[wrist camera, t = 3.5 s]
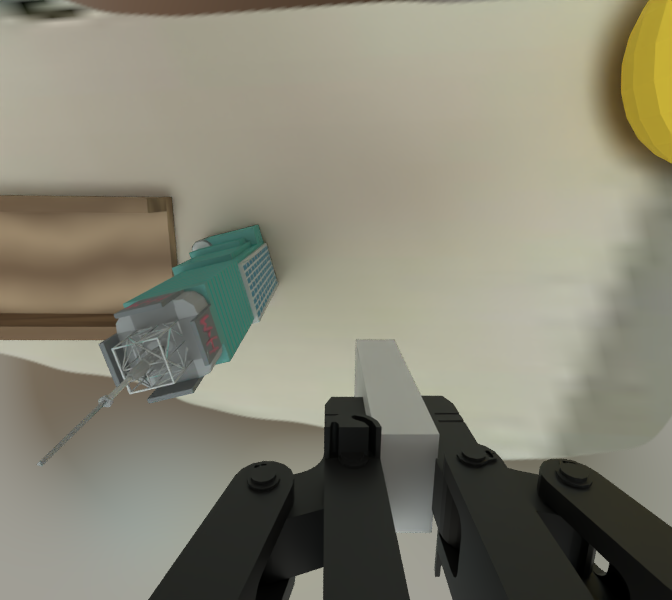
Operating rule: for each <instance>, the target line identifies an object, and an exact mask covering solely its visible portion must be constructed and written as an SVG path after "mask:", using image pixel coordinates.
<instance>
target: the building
mask: <svg viewBox="0 0 672 600" xmlns="http://www.w3.org/2000/svg"><path fill="white" fill-rule="evenodd" d="M189 254H190V257H191V259H190V260H188V261H186V262H184V263H182V264H180V265H177V266H175V267H173V268H172V271H173V273H174V276H173V277H172V278H170V279H168V280H166V281H164V282H162V283H160V284H159V285H157V286H155V287H153V288H151V289H149V290H148V291H146V292H144V293H142V294H140V295H138V296H136V297H135V298H133V299H131V300H129V301H127V302H125V303H123V306H124V309H122V310H121V311H119V312H117V313H115V314H114V317H115V319H117V318H119V319H118V321H117V323H116V329H117V333H116V334H114V335H112V336H111V337H109V338H108V339H106V340H104V341H103V342H101V343H100V344H99V346H100V349H101V351H102V354H103V356H104V358H105V361H106V363H107V366H108V368H109V370H110V373H111V375H112V378H113V380H114V382H115V385H116V388H115V389H114V390H113V391H112V392H111V393H110V394H109V395H108V396H107V395H105V396H103V397H100V399H99V400H98V401H99V405H98V406H97V407H96V408H95V409H94V410H93V411H92V412H91V413H90V414H89V415H87V416H86V417H85V418H84V419H83V420H82V421H81V422H80V423H79V424H78V425H77V426H76V427H75V428H74V429H73V430H72V431H71V432H70V433H69V434H68V435H67V436H66V437H65V438H64V439H63V440H61V441H60V442H59V443H58V444H57V445H56V446H55V447H54V448H53V449H52V450H51V451H50V452H49V453H48V454H47V455H46V456H45V457H44V458H43V459H42V460H41V461H40V462H39V463H38V464H37V465H40V466H42V465H43V464H45V463H46V461H48V459H50V458H51V457H52V456H53V455H54V454H55V453H56V452H57V451H58V450H59V449H60V448H61V447H62V446H63V445H64V444H65V443H66V442H67V441H68V440H69V439H70V438H71V437H72V436H73V435H74V434H75V433H76V432H77V431H78V430H79V429H80V428H81V427H82V426H83V425H84V424H85V423H86V422H87V421H89V420H90V419H91V417H93V416H94V414H96V413H97V411H99V410H100V409H101V408H102V407H110V406H111V404H112V403H113V399H114V398H115V397H116V396H117V394H119V393H120V391H122V390H123V388H124V387H125V386H126V387H127V389H128V391H129V394H133V393H137V392H142V391H146V390H150V389H155V388H157V389H156V390H155V391H154V392H153V393H152V395H151V396H150V397H149V398H148V399H147V400H148V402H149V403H153V402H157V401H161V400H165V399H170V398H174V397H178V396H182V395H187V394H191V393H194V391H195V390H196V388H197V387H198V385H199V384H200V382H201V380H202V379H203V377H204V376H205V375H206V374H209V373H210V372H211V371H212V369H213V367H214V365H216V364H220V363H225V362H229V361H231V359H232V357H233V355H234V354H235V352H236V350H237V348H238V347H239V345H240V343H241V341H242V340H243V338H244V336H245V334H246V333H247V331H248V329H249V327H250V326H251V324H252V323H256V322H260V320H261V318H262V316H263V314H264V312H265V310H266V308H267V306H268V304H269V302H270V300H271V298H272V296H273V294H274V293H275V291H276V289H277V287H278V285H279V284H278V282H277V278H276V276H275V274H276V273H274V268H273V264H272V262H271V259H270V253H269V251H268V247H267V243H264V242H263V239H262V236H261V232H260V229H259V225H254V226H251V227H247V228H243V229H239V230H235V231H231V232H227V233H223V234H219V235H215V236H211V237H207V238H204V239H202V240H199V241H197V242H195V244H194V245H193V246H192V252H190V253H189ZM136 380H138V382H139V384H138V385H137V386H136V387H135V388H134V389H133V390H132V391H131V388H130V386H129V383H131V382H133V381H136ZM140 384H143V385H145V386H147V387H149V388H146V389H142V390H139V391H135V392H133V391H134V390H135V389H136V388H137V387H138V386H139V385H140Z"/></svg>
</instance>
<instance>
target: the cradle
mask: <svg viewBox="0 0 672 600" xmlns="http://www.w3.org/2000/svg"><path fill="white" fill-rule="evenodd" d="M175 266H177V254H176V243H175V231H174V219H173V207H172V197H108V196H23V195H0V340H106V339H108V338H109V337H111V336H112V335H114V334H116V333H117V329H116V323H117V321H118V319H119V318H117V319H115V317H114V314H115V313H117V312H119V311H121V310H122V309H124V306H123V303H125V302H127V301H129V300H131V299H133V298H135V297H136V296H138V295H140V294H142V293H144V292H146V291H148V290H149V289H151V288H153V287H155V286H157V285H159V284H160V283H162V282H164V281H166V280H168V279H170V278H172V277H173V276H174V273H173V271H172V268H173V267H175Z"/></svg>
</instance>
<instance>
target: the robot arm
mask: <svg viewBox="0 0 672 600" xmlns="http://www.w3.org/2000/svg"><path fill="white" fill-rule="evenodd" d="M433 515H434V518H435V521H436V524H437V527H438V534H437V546H436V557H435V577H439V576H440V567H441V565H442V567H443V570H444V573H445V576H446V579H447V583H448V586H449V589H450V593H451V596H452V599H453V600H672V527H671V526H669V525H668V524H666V523H665V522H664V521H662V520H661V519H660V518H658V517H657V516H656V515H654V514H653V513H652V512H650V511H649V510H648V509H646V508H645V507H643V506H642V505H641V504H639V503H638V502H637V501H635V500H634V499H633V498H631V497H630V496H629V495H627V494H626V493H624V492H623V491H622V490H620V489H619V488H618V487H616V486H615V485H614V484H612V483H611V482H610V481H608V480H607V479H605V478H604V477H603V476H602V475H600V474H599V473H597V472H596V471H594V470H592V469H591V468H589V467H587V466H585V465H583V464H580V463H577V462H576V461H572V460H567V459H549V460H547V461H544V462H543V463H542V465H541V466H540V470H539V475H537V474H532V473H527V472H522V471H517V470H513V469H509V468H507V466H506V465H505V464H504V462H503V460H502V459H501V458H500V457H499V456H498V455H497V454H496V452H495V451H493V450H491V449H489V448H487V447H486V446H483V445H480V444H478V443H477V442H476V440H475V438H474V437H473V435H472V434H471V432H470V430H469V429H468V427H467V425H466V424H465V422H463V419H462V417H461V416H460V415H459V412H458V411H457V409H456V407H455V406H454V404H453V403H451V402H450V401H449V400H447V399H446V398H444V397H443V396H421V394H420V392H419V390H418V388H417V386H416V384H415V382H414V380H413V378H412V375H411V373H410V371H409V369H408V367H407V365H406V363H405V361H404V359H403V357H402V354H401V352H400V350H399V348H398V346H397V344H396V342H395V340H372V339H356V353H355V394H354V397H331V398H330V399H329V401H328V402H327V403H326V404H325V427H324V457H323V459H322V460H321V462H320V463H319V464H318V465H317V466H315V467H313V468H312V469H310V470H308V471H305V472H302V473H298V474H293V473H292V471H291V469H289V468H288V467H287V466H286V465H284V464H281V463H278V462H274V461H262V462H258V463H253V464H251V465H249V466H247V467H245V468H243V469H241V470H240V471H239V472H238V474H236V475H235V477H234V478H233V479H232V481H231V482H230V484H229V485H228V487H227V488H226V490H225V491H224V492H223V494H222V495H221V497H220V498H219V499H218V501H217V502H216V504H215V505H214V507H213V508H212V510H211V511H210V512H209V514H208V515H207V517H206V518H205V519H204V521H203V522H202V524H201V525H200V527H199V528H198V529H197V531H196V532H195V534H194V535H193V537H192V538H191V539H190V541H189V543H188V544H187V545H186V547H185V548H184V549H183V551H182V552H181V554H180V555H179V557H178V558H177V559H176V561H175V562H174V564H173V565H172V567H171V568H170V569H169V571H168V572H167V574H166V575H165V577H164V578H163V579H162V581H161V582H160V584H159V585H158V587H157V588H156V589H155V591H154V592H153V594H152V595H151V597H150V598H149V599H148V600H289V597H290V595H291V592H292V589H293V586H294V582H295V576H297V575H300V574H303V573H306V572H309V571H312V570H315V569H318V568H322V567H324V571H323V572H324V573H323V575H324V576H323V578H324V579H323V600H410V598H409V594H408V589H407V584H406V579H405V574H404V569H403V564H402V560H401V555H400V550H399V545H398V540H397V536H396V533H414V532H415V533H418V532H419V533H421V532H422V533H423V532H425V533H427V532H432V521H433ZM596 550H597V551H598V552H599V553H600V554H601V555H602V556H603V557H604V558H605V559H606V560H607V561H608V562H609V568H608V571H607V573H606V572H604V571H603V570H601V569H600V568H599V567H598V566H597V565H596V564H595V563H594V559H595V554H596Z"/></svg>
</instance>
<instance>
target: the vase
mask: <svg viewBox="0 0 672 600" xmlns="http://www.w3.org/2000/svg"><path fill="white" fill-rule="evenodd" d="M621 95H622V100H623V104H624V109H625V113H626V118H627V120H628V121H629V123H630V125H631V127H632V129H633V131H634V132H635V134H636V136H637V138H638V139H639V140H640V141H641V142H642V143H643V144H644V145H645V146H646V147H647V148H648V149H649V150H650V151H651V152H652V153H653V154H655V155H656V156H658V157H660V158H662V159H664V160H666V161H668V162H670V163H672V0H649V1H648V2H647V4H646V5H645V7H644V8H643V10H642V12H641V14H640V16H639V18H638V20H637V22H636V24H635V26H634V28H633V30H632V32H631V34H630V36H629V39H628V43H627V47H626V51H625V54H624V58H623V62H622V72H621Z"/></svg>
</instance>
